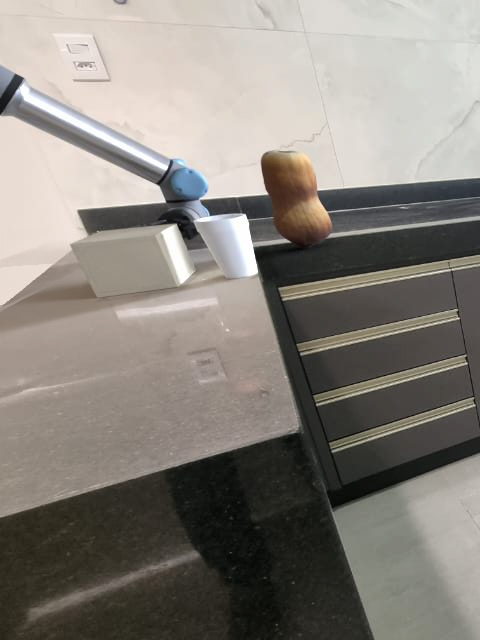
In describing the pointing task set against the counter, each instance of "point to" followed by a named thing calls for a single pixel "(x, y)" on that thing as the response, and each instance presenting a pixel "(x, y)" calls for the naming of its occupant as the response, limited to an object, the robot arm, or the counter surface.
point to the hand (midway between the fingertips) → (153, 237)
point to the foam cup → (229, 243)
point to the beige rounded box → (134, 259)
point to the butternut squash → (295, 198)
